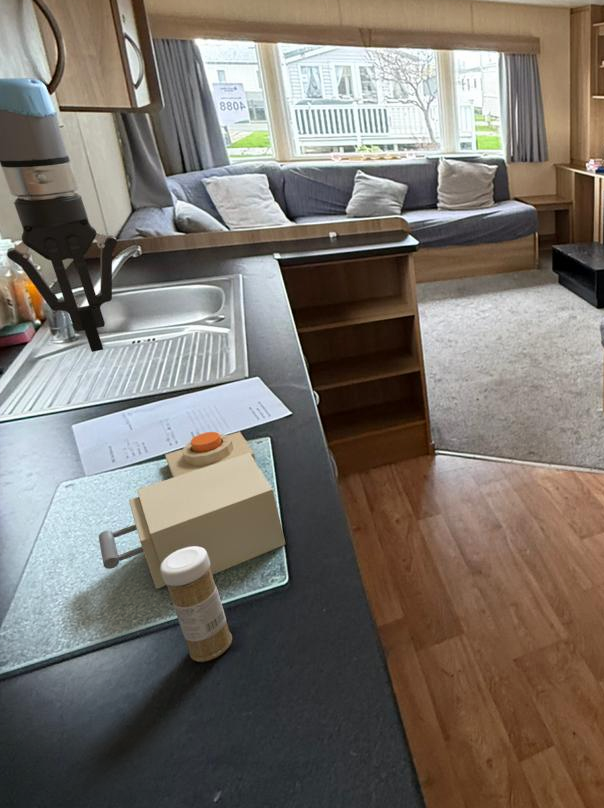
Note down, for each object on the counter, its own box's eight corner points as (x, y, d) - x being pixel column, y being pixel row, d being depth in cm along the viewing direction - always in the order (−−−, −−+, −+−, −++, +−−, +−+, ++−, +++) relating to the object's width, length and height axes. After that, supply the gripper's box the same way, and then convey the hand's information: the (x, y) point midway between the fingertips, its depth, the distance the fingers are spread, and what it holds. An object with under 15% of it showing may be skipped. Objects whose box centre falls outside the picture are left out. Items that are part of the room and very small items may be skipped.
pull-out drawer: (116, 605, 82) (98, 556, 80) (107, 558, 91) (90, 512, 88) (266, 544, 93) (255, 499, 90) (246, 507, 101) (235, 464, 98)
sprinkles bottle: (221, 627, 80) (194, 539, 75) (240, 644, 78) (214, 554, 73) (182, 652, 77) (151, 561, 72) (200, 670, 74) (170, 578, 69)
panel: (178, 490, 107) (172, 470, 105) (168, 465, 114) (162, 445, 113) (256, 464, 114) (251, 444, 113) (242, 441, 121) (237, 422, 120)
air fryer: (169, 592, 86) (150, 533, 82) (154, 544, 95) (136, 489, 91) (285, 544, 94) (272, 489, 91) (262, 504, 103) (249, 452, 100)
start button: (195, 456, 110) (193, 447, 109) (190, 446, 113) (188, 437, 112) (224, 447, 112) (222, 438, 112) (218, 437, 116) (216, 429, 115)
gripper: (-16, 204, 85) (44, 367, 94) (105, 193, 93) (149, 344, 102) (-14, 197, 91) (42, 352, 99) (100, 186, 98) (143, 331, 107)
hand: (96, 348), depth 101 cm, fingers closed
